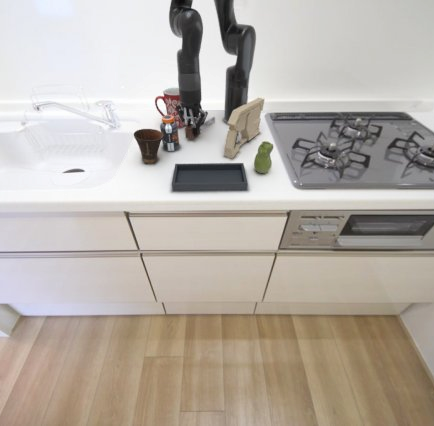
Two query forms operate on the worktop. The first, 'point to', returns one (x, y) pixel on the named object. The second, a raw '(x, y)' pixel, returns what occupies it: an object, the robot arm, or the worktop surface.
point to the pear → (263, 157)
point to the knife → (190, 132)
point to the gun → (243, 125)
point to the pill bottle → (169, 133)
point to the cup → (148, 144)
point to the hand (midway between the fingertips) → (193, 134)
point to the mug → (171, 104)
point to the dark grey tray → (209, 177)
